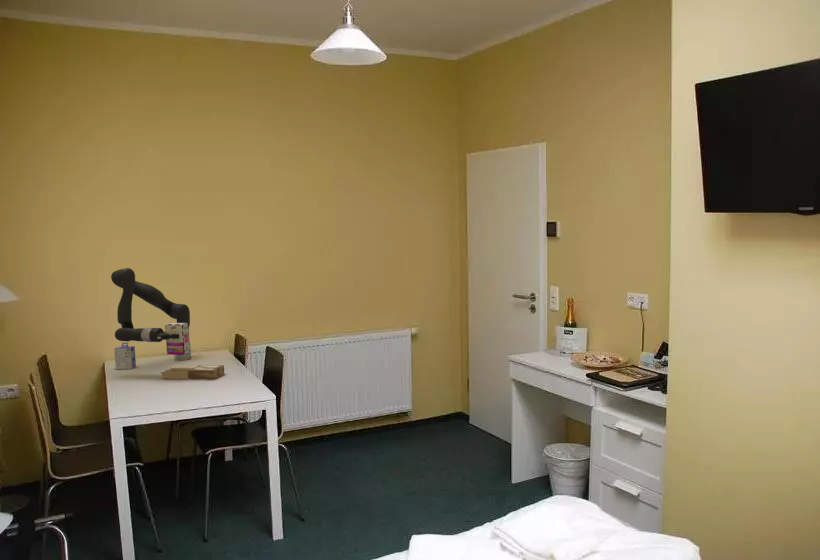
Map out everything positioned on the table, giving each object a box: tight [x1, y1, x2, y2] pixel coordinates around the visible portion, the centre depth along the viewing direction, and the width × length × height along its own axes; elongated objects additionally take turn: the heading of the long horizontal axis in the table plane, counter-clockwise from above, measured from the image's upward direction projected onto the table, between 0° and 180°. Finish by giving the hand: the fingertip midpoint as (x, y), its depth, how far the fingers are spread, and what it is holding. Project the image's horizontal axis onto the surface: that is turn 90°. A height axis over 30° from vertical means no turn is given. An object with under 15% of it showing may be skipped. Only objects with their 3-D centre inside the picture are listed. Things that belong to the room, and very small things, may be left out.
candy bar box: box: [164, 322, 190, 355], centre depth 344 cm, size 11×5×16 cm, turn 73°
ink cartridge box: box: [113, 342, 137, 370], centre depth 368 cm, size 10×6×14 cm, turn 89°
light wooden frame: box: [159, 365, 198, 380], centre depth 345 cm, size 14×16×4 cm
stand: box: [188, 364, 225, 380], centre depth 343 cm, size 12×14×5 cm
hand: (181, 335), depth 343 cm, fingers closed on candy bar box, 5 cm apart
